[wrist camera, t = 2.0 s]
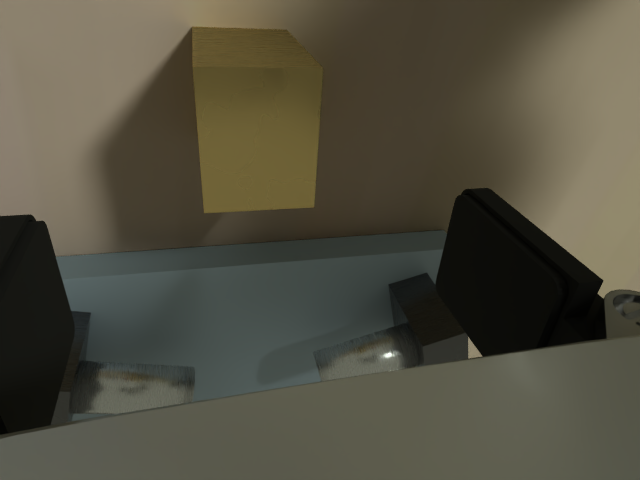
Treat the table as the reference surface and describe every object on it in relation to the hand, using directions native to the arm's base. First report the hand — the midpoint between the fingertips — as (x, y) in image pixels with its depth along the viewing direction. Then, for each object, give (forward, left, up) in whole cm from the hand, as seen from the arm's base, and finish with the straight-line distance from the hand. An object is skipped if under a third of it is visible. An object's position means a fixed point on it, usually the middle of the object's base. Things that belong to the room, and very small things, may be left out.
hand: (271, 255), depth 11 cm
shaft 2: (-8, +13, -11) cm, 18 cm away
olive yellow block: (0, 0, -13) cm, 13 cm away
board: (0, +14, -13) cm, 19 cm away
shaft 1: (+7, +13, -11) cm, 18 cm away
